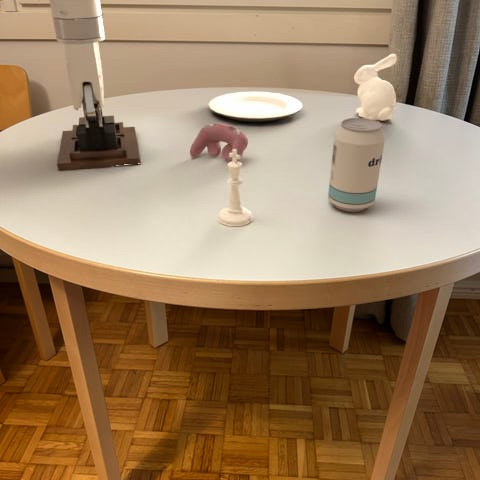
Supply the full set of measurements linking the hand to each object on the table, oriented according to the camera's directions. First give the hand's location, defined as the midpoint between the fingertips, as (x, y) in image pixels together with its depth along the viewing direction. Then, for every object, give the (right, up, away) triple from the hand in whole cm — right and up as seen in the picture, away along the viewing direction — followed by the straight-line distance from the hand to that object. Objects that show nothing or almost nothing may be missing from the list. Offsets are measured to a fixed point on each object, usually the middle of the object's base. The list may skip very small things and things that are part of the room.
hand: (98, 143), depth 94 cm
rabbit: (+55, +14, +23) cm, 61 cm away
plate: (+29, +15, +24) cm, 41 cm away
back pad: (0, 0, 0) cm, 0 cm away
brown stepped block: (-1, 0, +5) cm, 5 cm away
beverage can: (+42, -14, -14) cm, 46 cm away
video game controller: (+22, -2, +1) cm, 22 cm away
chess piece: (+25, -17, -18) cm, 35 cm away
